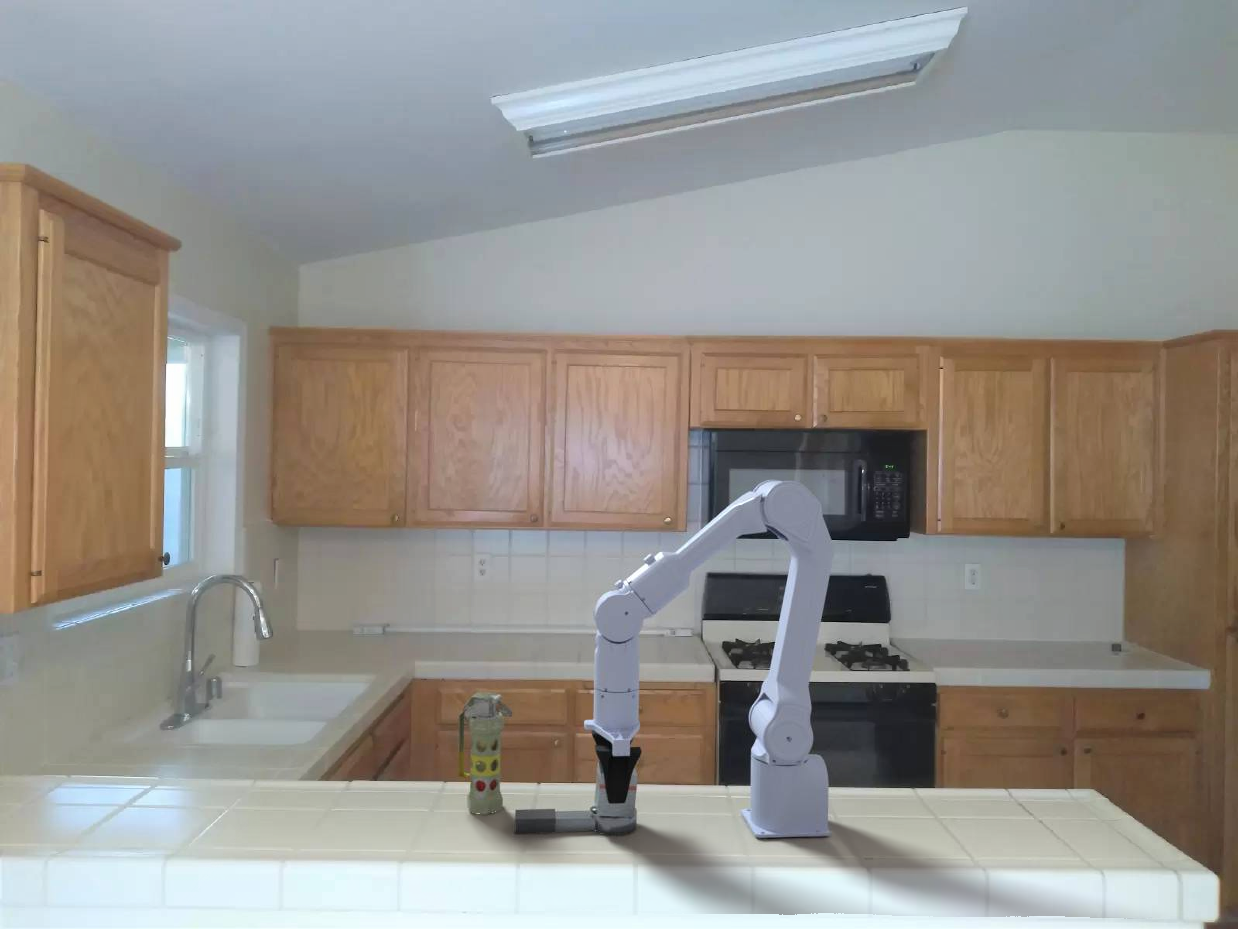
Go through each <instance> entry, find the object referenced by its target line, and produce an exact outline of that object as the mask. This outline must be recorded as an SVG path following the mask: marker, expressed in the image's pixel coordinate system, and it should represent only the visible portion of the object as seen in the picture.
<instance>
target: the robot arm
mask: <svg viewBox="0 0 1238 929" xmlns="http://www.w3.org/2000/svg"><path fill="white" fill-rule="evenodd" d="M822 511H823V509H822V504H821V502H820V501H819V500H818V499H817V498H816V496H815V494H813V493H812V492H811V491H810V490H809V488H807V487H806V486H805V485H804V484H803V483H800V482H798V481H795V480H784V481H782V480H779V479H768V480H765V481H763V482H760V483H759V484H757V486H756V487H755V488H754V489H753V491H750V490H749V491H748V492H746V493H744V494H742V495H741V496H739V497H738V498H737V499H736V500H735V501H733V502H732V503H730V504H729V505H728V506H727V507H726V508H725V509H723V510H722V511H721V512H720V513H719V514H718V515H717V516H715V517H714V518H713V519H712V520H710V522H709V523H707V524H706V525H705V526H704V527H703V528H702V529H700V530H699V531H698V532H697V533H696V534H695V535H693V536H692V537H691V538H690V539H689V540H688V541H686V543H684V544H683V545H682V546H680V547H679V549H677V551H675V552H671V551H660V552H658V553H657V554H655V555H653V554H652V553H649V554H647V556H646V557H644V558H643V561H644V563H645V564H643V565H642V566H641V567H639V568H638V569H637V570H636V571H634V572H633V573H632V574H631V575H630V576H629V577H627V578H626V579H624V581H623V580H622V579H619V580H618V581H616V582H615V583H614V586H615V587H616V589H615V590H609V591H607V592H605V593H604V594H602V596H600V598H598V601H597V602H596V605H595V607H594V610H593V618H594V622H595V624H596V628H597V629H596V635H595V640H594V641H595V646H596V648H595V649H594V657H593V658H594V661H593V664H594V666H593V674H594V675H593V719H585V720H584V722H583V728H584V730H587V731H588V730H589V731H591V737H592V738H593V739H594V740H593V741H594V742H595V745H594V750H595V754H596V756H597V758H598V761H600V763H601V765H602V768H603V773H604V779H605V788H606V794H607V799H608V802H609V804H619V803H625V802H626V798H627V795H628V790H629V785H630V780H631V776H632V773H633V770H634V767H635V768H636V766H637V763H638V761H639V759H640V758H641V755H642V749H641V748H642V747H640V746H631V744H632V743H633V740H634V738H635V736H636V734H637V733H638V732H639V731H640V729H641V722H640V720H639V711H640V710H639V709H640V708H639V707H640V706H639V705H640V702H639V701H640V650H639V648H638V647H639V646H638V645H639V643H638V642H639V634H640V632H641V631H642V628H643V626H644V620H645V619H650V618H652V617H653V616H654V615H657V613H658V612H660V611H661V610H662V609H663V608H664V607H666V606H667V605H668V604H669V603H671V602H672V601H673V600H674V599H676V598H677V597H678V596H679V595H681V594H682V593H683V592H684V591H686V590H687V589H688V588H689V586H690V581H691V580H690V579H691V575H692V572H693V571H695V570H696V569H697V568H698V567H700V566H701V565H702V564H704V563H705V562H706V561H708V560H709V559H711V558H712V557H714V555H716V554H717V553H719V552H720V551H721V550H723V549H724V548H726V547H727V546H728V545H730V543H732V542H733V541H735V540H736V539H737V538H739V537H741V536H742V535H750V534H760V533H766V532H768V530H769V531H770V532H772V533H773V534H774V535H776V536H777V538H778V539H779V541H780V542H781V543H782V545H783V546H784V547H785V549H786V550H787V552H788V553H789V554H790V556H791V558H790V564H789V570H788V574H787V580H786V585H785V590H784V594H783V599H782V600H783V601H782V605H781V610H780V615H779V616H780V617H779V621H778V627H777V630H776V631H777V632H776V637H775V641H774V642H775V643H774V646H773V647H774V648H773V651H772V656H771V657H772V658H771V662H770V666H769V672H768V675H767V676H766V677H765V679H764V681H763V682H762V684H761V687H760V688H761V689H760V693H759V695H758V697H757V698H756V700H755V701H754V703H753V704H752V706H751V707H750V709H749V713H748V724H749V727H750V729H751V731H752V732H753V734H754V735H755V737H756V739H755V741H754V743H753V745H752V747H751V749H750V798H749V799H750V802H749V803H750V804H749V806H750V807H749V808H743V809H741V810H740V814H741V815H742V816H743V819H744V821H745V822H746V824H747V825H748V827H749V828H750V830H751V832H752V834H753V835H754V836H755V837H756V838H759V839H761V838H764V839H766V838H797V837H803V838H804V837H805V838H806V837H829V836H830V835H831V832H830V830H829V792H830V791H829V775H828V774H829V773H828V769H827V765H826V762H825V760H824V758H823V757H822V756H821V755H819V754H814V753H813V754H810V751H811V749H812V747H813V743H814V733H813V728H812V725H811V714H812V702H811V695H810V688H809V685H810V679H811V675H812V668H813V663H814V659H815V653H816V648H817V643H818V637H819V632H820V627H821V623H822V619H823V618H822V616H823V612H824V606H825V602H826V597H827V592H828V586H829V580H830V575H831V570H832V565H833V560H834V554H835V546H834V544H833V540H832V538H831V536H830V532H829V529H828V527H827V524H826V521H825V519H824V516H823V512H822Z"/></svg>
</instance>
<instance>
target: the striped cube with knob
mask: <svg viewBox="0 0 1238 929" xmlns="http://www.w3.org/2000/svg"><path fill="white" fill-rule="evenodd" d="M595 781H596V782H595V791H594V806H595V807H596V812H597V816H614V817H634V811H635V808H636V798H637V789H638V786H637V785H638V772H637V770H636V766H635V767H634V770H633V773H632V776H631V780H630V785H629V790H628V795H627V798H626V802H625V803H619V804H609V802H608V799H607V794H606V788H605V779H604V773H603V768H602V765H601V763H600V760H598V761H597V770H596V780H595Z"/></svg>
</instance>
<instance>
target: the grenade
mask: <svg viewBox="0 0 1238 929" xmlns="http://www.w3.org/2000/svg"><path fill="white" fill-rule="evenodd" d="M502 699H503V696H502V695H501V693H499V694H497V693H496V692H494V693H493V692H480V691H479V692H477V693H474V694H473V695H472V696H471V697H470V698H469V699H468V700H467V701H466V702H465V703H464V706H463V707H462V708H463V709H462V712H461V713H460V714H459V716H458V719H459V720H458V723H459V724H458V760H457V762H458V768H457V770H458V771H457V774H458V776H457V777H458V778H462V779H463V778H468V777H470V786H469V792H468V794H467V799H466V804H467V808H469V809H468V811H469V813H472V812H473V813H472V814H474V813H480V814H479V815H481V814H485V815H490V814H489V813H492V812H495V811H497V812H499V811H501V810H502V809H503V808H504V806H503V805H504V804H503V802H504V798H503V795H502V793H501V782H500V781H501V751H502V750H501V747H502V746H501V739H502V738H501V737H502V731H503V730H504V728H505V718H504V716H505V717H512V716H513V714H514V713H513V710H511V709H510V707H508V706H506V705H505V704H504V703H503V702H502V701H501V700H502ZM497 705H498V706H500V707H501V709H503V710H500V709H499V708H498V706H497ZM467 717H468V718H467ZM465 723H466V724H467V725H468V729H469V731H470V740H471V742H470V743H471V744H470V745H471V746H470V773H468V772H464V744H465V742H464V736H465V734H464V732H465V727H464V726H465ZM495 813H496V812H495ZM492 814H493V813H492Z"/></svg>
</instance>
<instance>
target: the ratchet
mask: <svg viewBox="0 0 1238 929" xmlns="http://www.w3.org/2000/svg"><path fill="white" fill-rule="evenodd" d="M589 808H590V809H589V810H561V811H560V810H556V809H555V808H537V809H536V808H533V809H532V808H531V809H530V808H529V809H525V808H524V809H515V813H514V814H515V815H514V834H515V835H522V834H524V835H525V834H526V833H527V835H529V834H532V835H533V834H553V833H552V832H555V833H559V832H558V831H570V832H590V831H589V830H596V831H595V832H596V833H598V832H599V833H598V834H600V833H602V834H601V835H604V834H605V836H610V835H616V836H615V837H617V836H618V835H620V836H625V835H629V834H631V832H632V833H633V832H635V831H636V830H637V821H638V820H637V814H638V811H637V808H636V807H635V811H634V817H614V816H597V812H596V807H595V805H592V806H591V807H589Z"/></svg>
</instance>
